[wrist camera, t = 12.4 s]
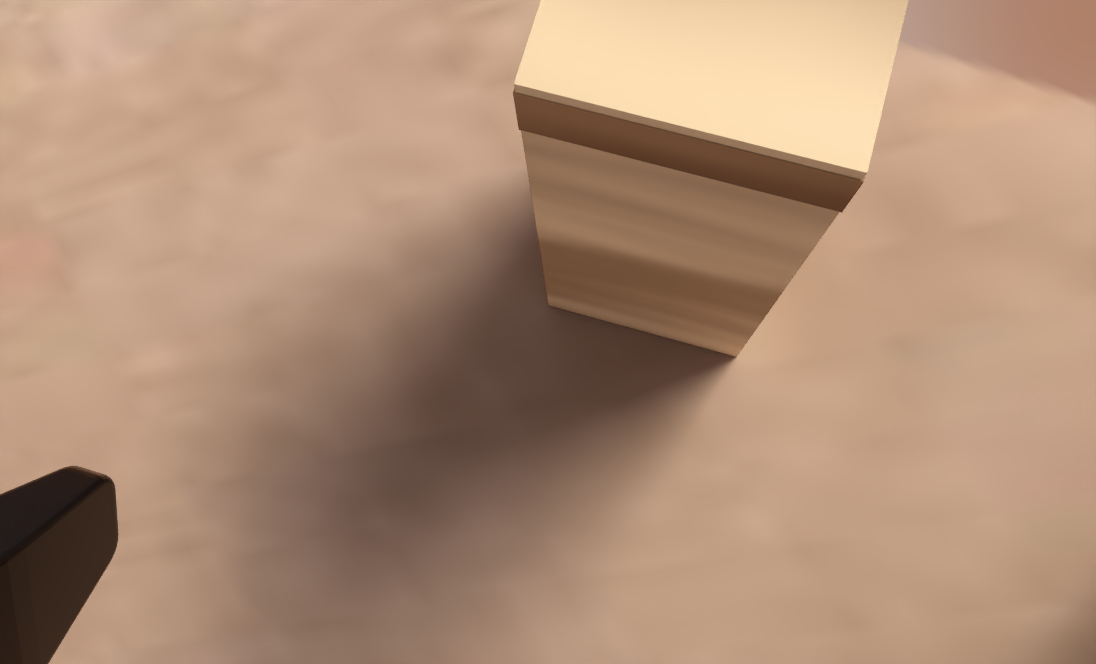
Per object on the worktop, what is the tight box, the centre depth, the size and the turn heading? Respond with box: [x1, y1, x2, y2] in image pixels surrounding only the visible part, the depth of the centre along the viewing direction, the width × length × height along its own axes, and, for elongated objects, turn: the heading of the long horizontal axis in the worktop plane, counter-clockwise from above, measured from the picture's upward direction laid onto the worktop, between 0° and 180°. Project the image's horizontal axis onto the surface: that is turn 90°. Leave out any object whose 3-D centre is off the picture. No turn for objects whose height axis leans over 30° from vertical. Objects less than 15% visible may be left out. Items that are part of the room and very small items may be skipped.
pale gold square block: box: [513, 0, 908, 357], centre depth 16 cm, size 4×4×10 cm
